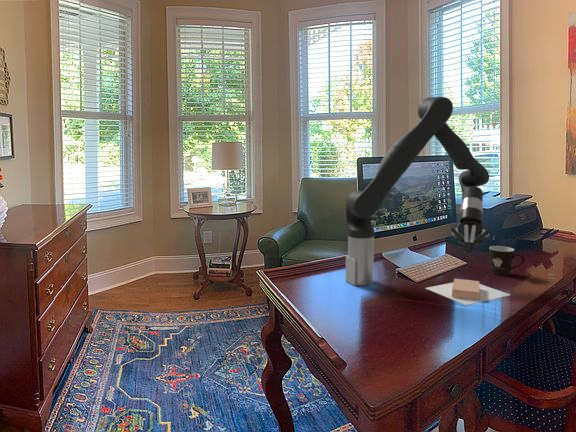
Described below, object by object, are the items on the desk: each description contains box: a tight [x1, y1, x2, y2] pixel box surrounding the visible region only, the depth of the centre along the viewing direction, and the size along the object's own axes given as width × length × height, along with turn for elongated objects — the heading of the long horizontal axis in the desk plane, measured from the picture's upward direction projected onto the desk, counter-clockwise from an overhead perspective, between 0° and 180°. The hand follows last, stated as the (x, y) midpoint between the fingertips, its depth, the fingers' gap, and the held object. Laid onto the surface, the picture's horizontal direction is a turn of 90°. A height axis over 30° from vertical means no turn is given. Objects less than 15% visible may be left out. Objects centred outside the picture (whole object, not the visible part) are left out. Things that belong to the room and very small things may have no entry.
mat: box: [425, 282, 511, 307], centre depth 146 cm, size 20×18×1 cm
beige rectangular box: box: [452, 278, 480, 300], centre depth 144 cm, size 3×8×12 cm
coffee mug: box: [488, 245, 525, 277], centre depth 163 cm, size 12×9×10 cm
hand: (468, 253), depth 147 cm, fingers closed
